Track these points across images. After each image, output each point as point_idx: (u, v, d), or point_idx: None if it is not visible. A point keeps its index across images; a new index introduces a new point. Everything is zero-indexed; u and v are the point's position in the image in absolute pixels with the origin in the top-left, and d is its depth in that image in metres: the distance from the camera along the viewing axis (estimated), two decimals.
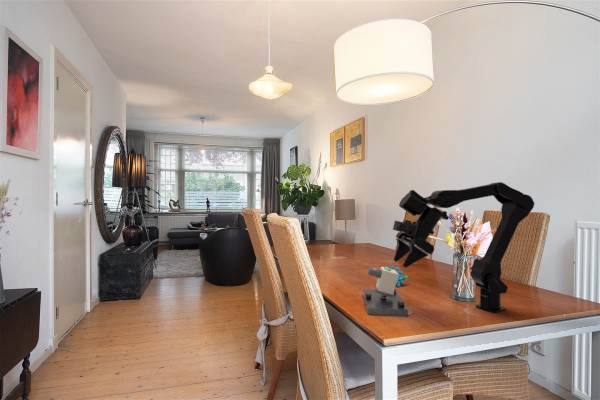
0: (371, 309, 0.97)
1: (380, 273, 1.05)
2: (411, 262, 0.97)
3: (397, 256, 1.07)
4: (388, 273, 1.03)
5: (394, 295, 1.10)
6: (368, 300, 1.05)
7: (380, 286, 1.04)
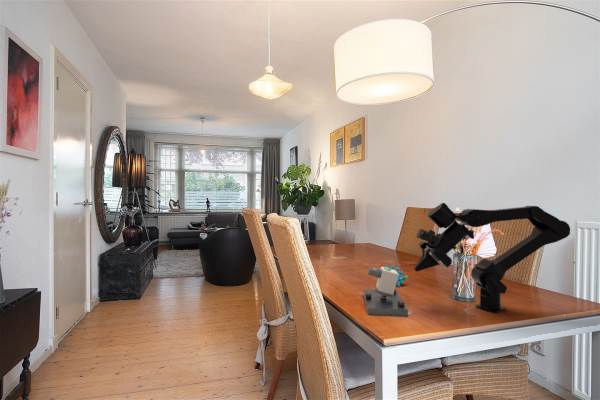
0: (371, 309, 0.97)
1: (380, 273, 1.05)
2: (423, 267, 1.04)
3: None
4: (388, 273, 1.03)
5: (394, 295, 1.10)
6: (368, 300, 1.05)
7: (380, 286, 1.04)
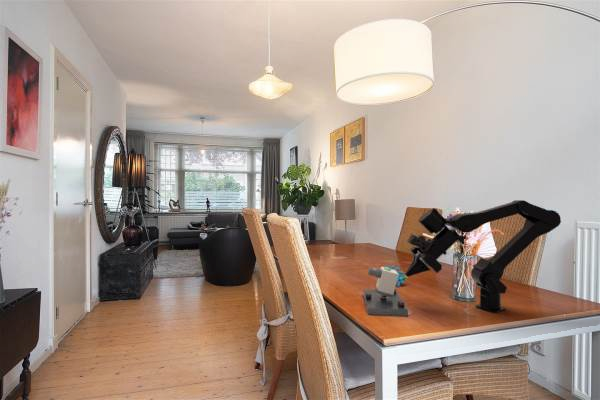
0: (371, 309, 0.97)
1: (380, 273, 1.05)
2: (413, 273, 1.04)
3: None
4: (388, 273, 1.03)
5: (394, 295, 1.10)
6: (368, 300, 1.05)
7: (380, 286, 1.04)
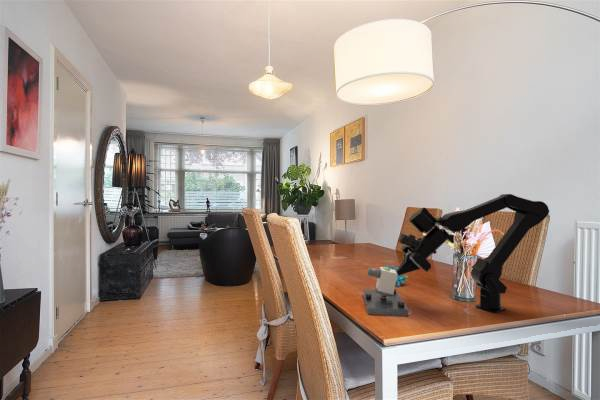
0: (371, 309, 0.97)
1: (379, 273, 1.05)
2: (404, 272, 1.05)
3: None
4: (387, 273, 1.03)
5: (394, 295, 1.10)
6: (368, 300, 1.05)
7: (380, 286, 1.04)
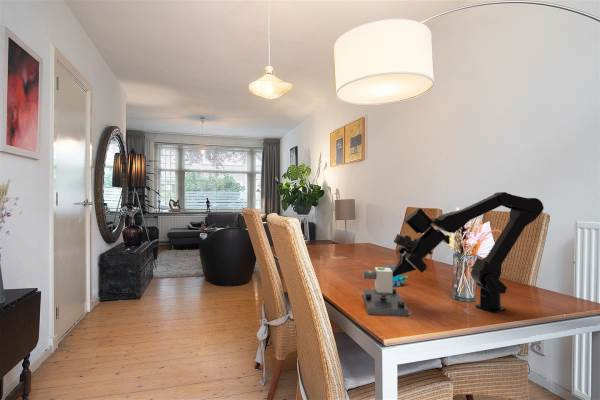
0: (371, 309, 0.97)
1: (375, 274, 1.06)
2: (399, 272, 1.05)
3: None
4: (382, 273, 1.04)
5: (394, 295, 1.10)
6: (368, 300, 1.05)
7: (378, 287, 1.04)
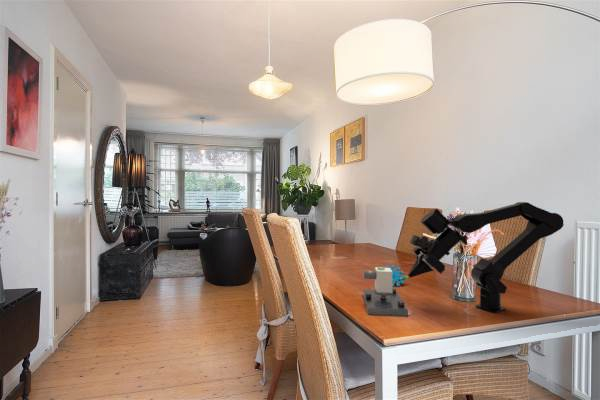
0: (371, 309, 0.97)
1: (375, 274, 1.06)
2: (416, 273, 1.04)
3: None
4: (382, 273, 1.04)
5: (394, 295, 1.10)
6: (368, 300, 1.05)
7: (378, 287, 1.04)
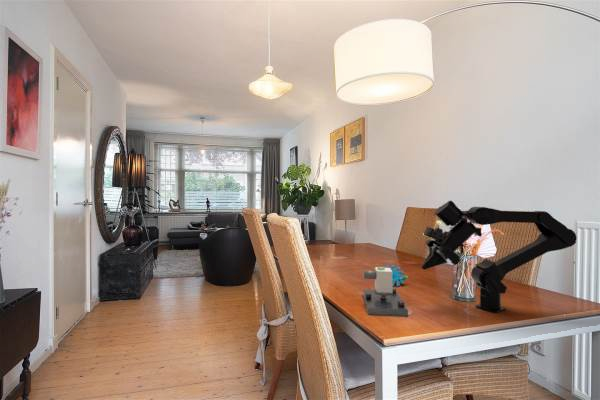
0: (371, 309, 0.97)
1: (375, 274, 1.06)
2: (430, 265, 1.04)
3: None
4: (382, 273, 1.04)
5: (394, 295, 1.10)
6: (368, 300, 1.05)
7: (378, 287, 1.04)
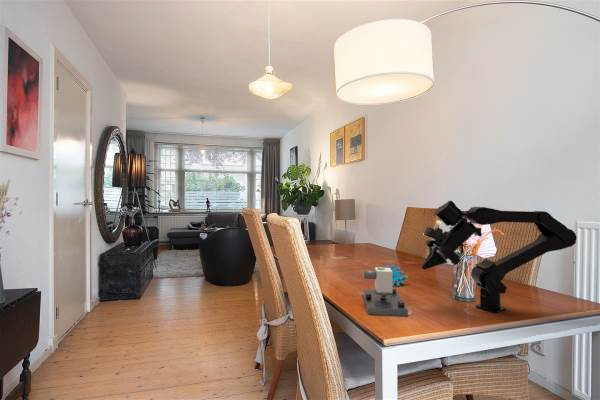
0: (371, 309, 0.97)
1: (375, 274, 1.06)
2: (430, 265, 1.04)
3: None
4: (382, 273, 1.04)
5: (394, 295, 1.10)
6: (368, 300, 1.05)
7: (378, 287, 1.04)
